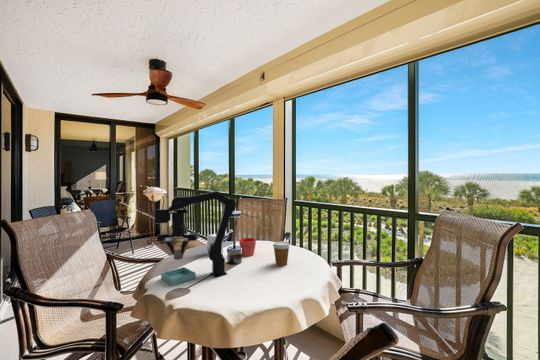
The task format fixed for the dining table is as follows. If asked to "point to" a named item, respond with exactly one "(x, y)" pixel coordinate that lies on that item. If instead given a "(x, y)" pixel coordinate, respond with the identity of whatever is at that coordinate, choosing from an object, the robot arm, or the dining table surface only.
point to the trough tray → (178, 276)
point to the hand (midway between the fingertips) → (178, 254)
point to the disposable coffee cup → (281, 252)
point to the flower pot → (247, 246)
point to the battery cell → (178, 251)
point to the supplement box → (211, 239)
